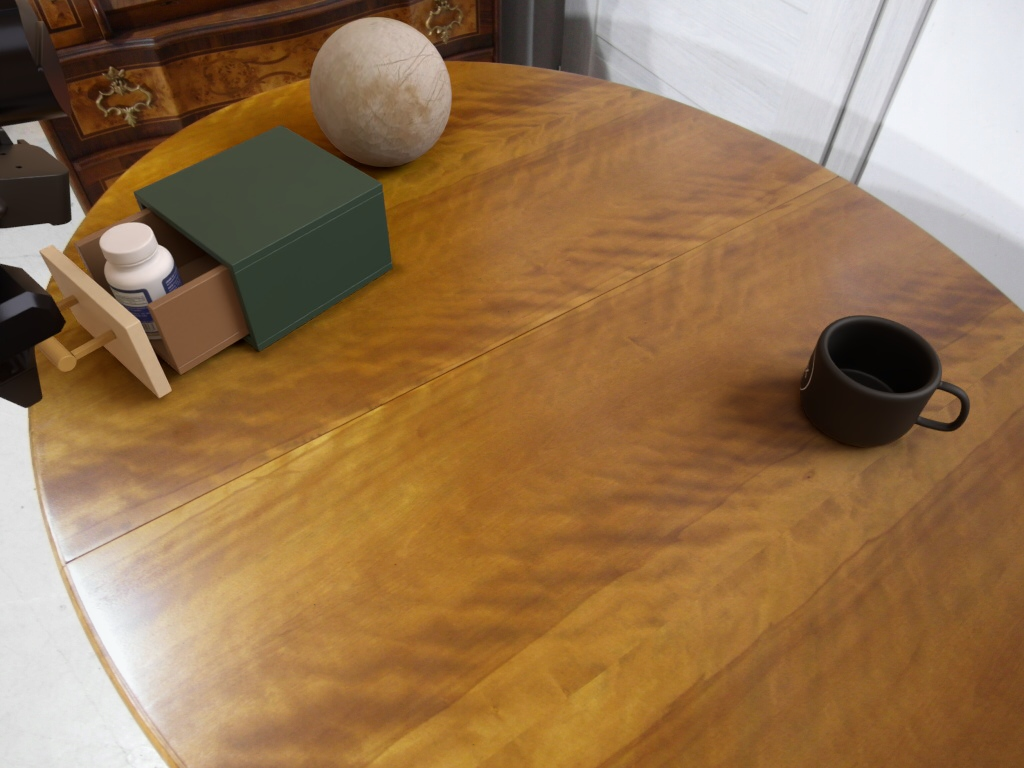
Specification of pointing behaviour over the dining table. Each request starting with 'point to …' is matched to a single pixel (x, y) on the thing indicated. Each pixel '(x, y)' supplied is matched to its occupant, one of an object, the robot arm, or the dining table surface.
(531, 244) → the dining table surface
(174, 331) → the drawer
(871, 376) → the mug
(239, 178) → the cabinet
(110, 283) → the pill bottle
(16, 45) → the robot arm
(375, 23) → the decorative sphere
